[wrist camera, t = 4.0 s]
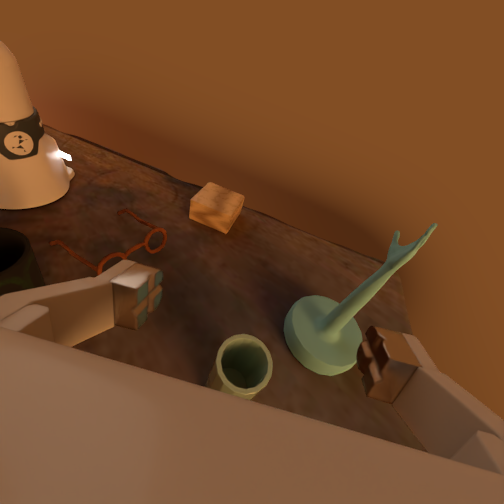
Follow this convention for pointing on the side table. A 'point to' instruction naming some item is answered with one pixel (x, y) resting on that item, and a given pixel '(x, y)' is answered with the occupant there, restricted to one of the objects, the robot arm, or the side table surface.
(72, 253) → the glasses
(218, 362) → the tumbler
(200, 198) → the block
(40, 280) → the cup
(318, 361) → the mug tree
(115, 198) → the side table surface
